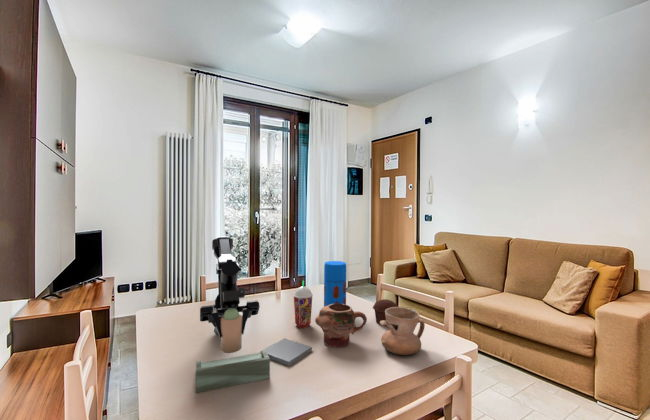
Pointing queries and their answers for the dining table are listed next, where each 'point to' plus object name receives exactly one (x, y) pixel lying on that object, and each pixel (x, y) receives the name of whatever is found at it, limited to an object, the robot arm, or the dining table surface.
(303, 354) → the slate pad
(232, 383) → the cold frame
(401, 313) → the ceramic jug
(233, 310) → the green ice cream cone
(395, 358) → the dining table surface
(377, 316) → the muffin
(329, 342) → the decorative planter
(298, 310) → the smoothie
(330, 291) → the thermos
